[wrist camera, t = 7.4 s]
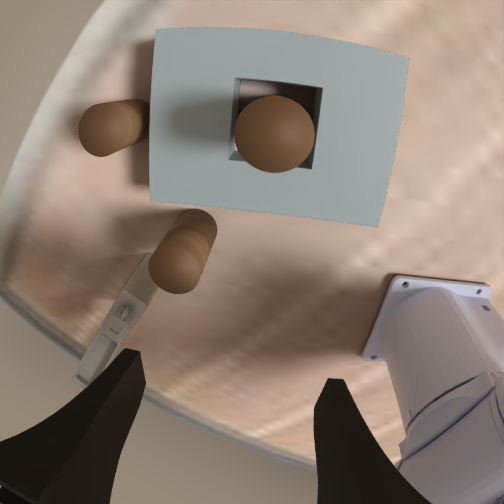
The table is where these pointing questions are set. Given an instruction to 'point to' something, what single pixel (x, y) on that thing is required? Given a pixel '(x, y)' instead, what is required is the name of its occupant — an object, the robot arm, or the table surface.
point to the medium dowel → (183, 252)
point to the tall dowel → (274, 134)
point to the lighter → (117, 324)
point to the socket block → (226, 110)
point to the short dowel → (114, 126)
